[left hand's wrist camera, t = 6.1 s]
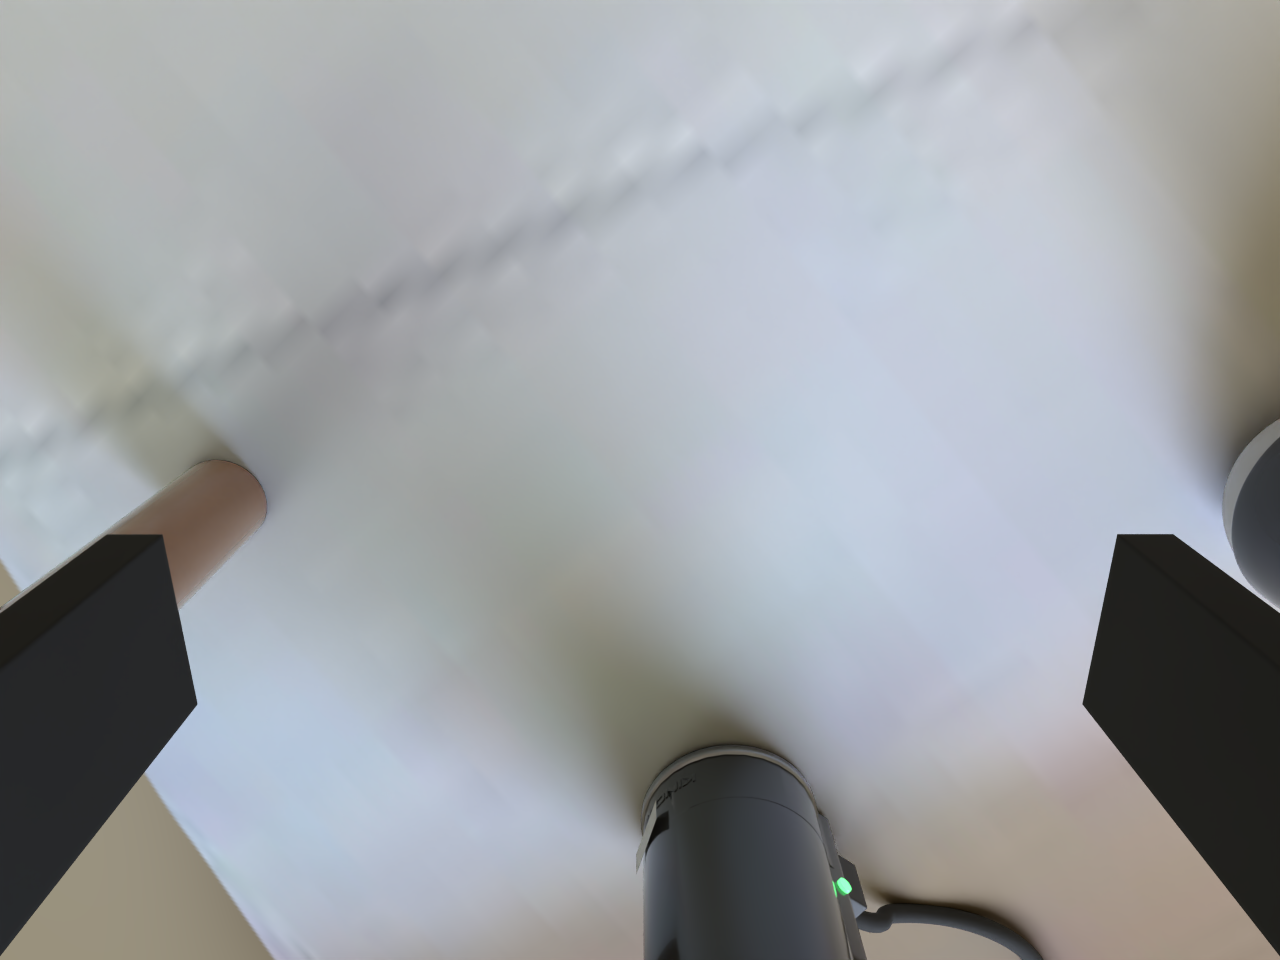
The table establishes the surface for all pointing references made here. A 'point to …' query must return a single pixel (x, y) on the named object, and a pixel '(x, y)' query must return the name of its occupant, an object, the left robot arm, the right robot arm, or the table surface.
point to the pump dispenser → (1256, 512)
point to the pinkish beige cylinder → (193, 523)
